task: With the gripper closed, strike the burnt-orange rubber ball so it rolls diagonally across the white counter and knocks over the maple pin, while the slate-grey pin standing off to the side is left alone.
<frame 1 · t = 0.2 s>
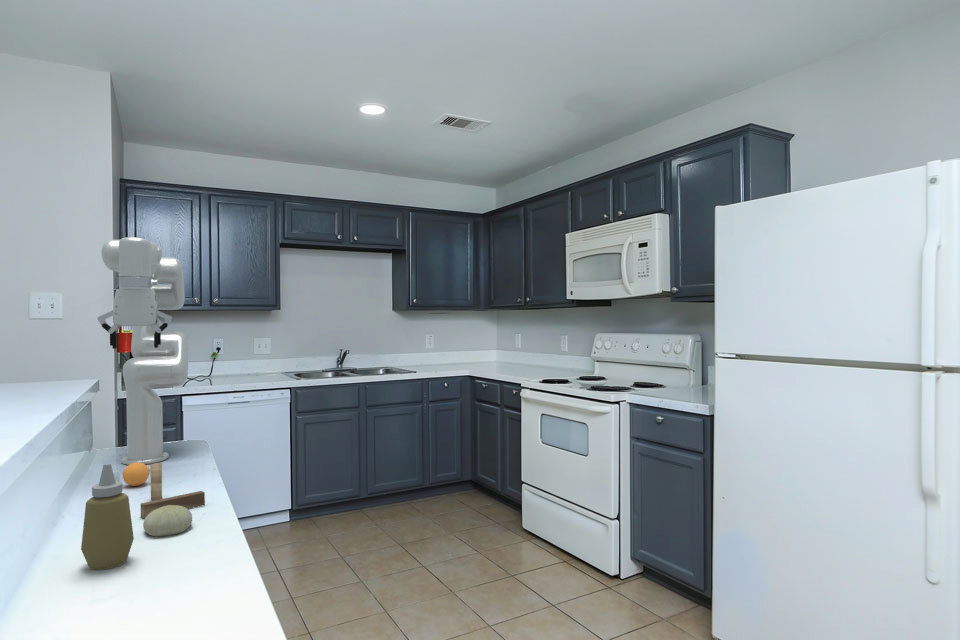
hand: (135, 348, 159), 36 cm above the worktop, tool pointing down, fingers open, 9 cm apart
squeeze bottle: (108, 565, 107), on the worktop
ball: (136, 474, 155), on the worktop
maple pin: (156, 499, 144), on the worktop
back wall: (173, 510, 135), on the worktop
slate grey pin: (113, 507, 137), on the worktop
sea urchin shell: (168, 531, 123), on the worktop
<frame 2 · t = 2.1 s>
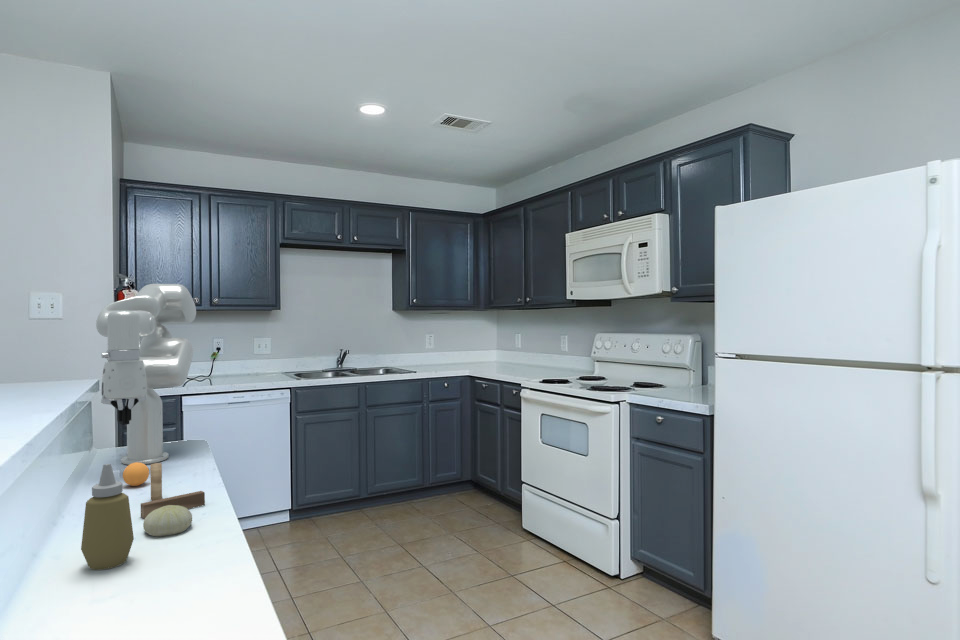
hand: (124, 423, 161), 15 cm above the worktop, tool pointing down, fingers closed
nothing on the worktop moved.
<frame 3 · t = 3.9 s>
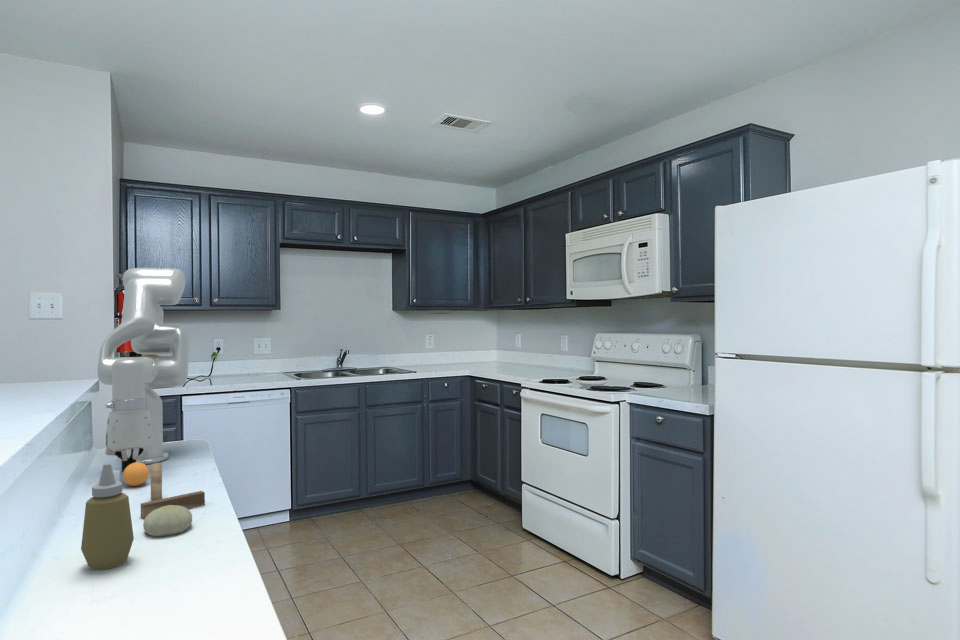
hand: (128, 474, 158), 2 cm above the worktop, tool pointing down, fingers closed
ball: (136, 474, 155), on the worktop, touching gripper
everything else where it was.
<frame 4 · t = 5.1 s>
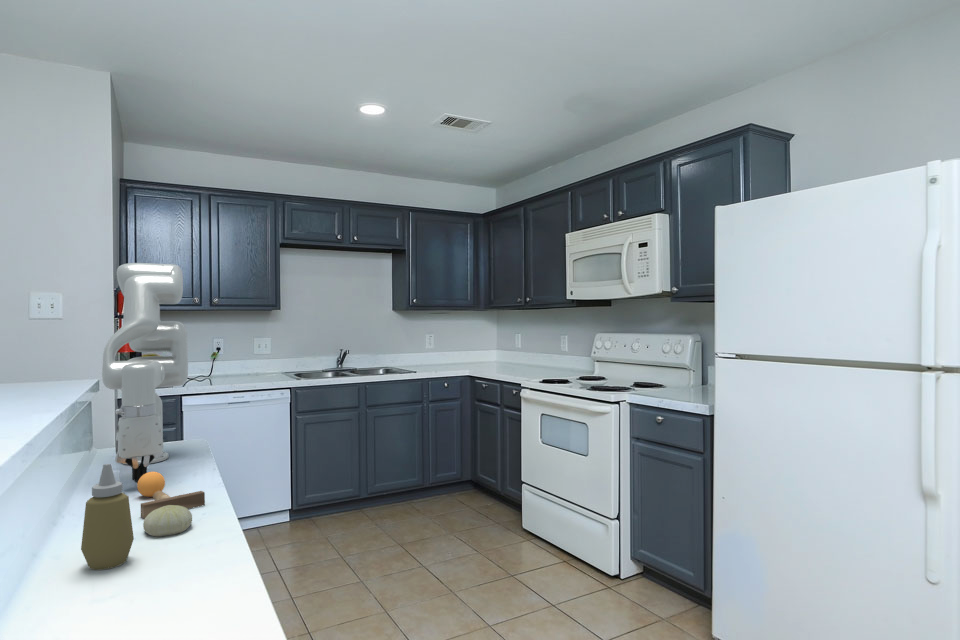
hand: (139, 482, 153), 2 cm above the worktop, tool pointing down, fingers closed
ball: (151, 484, 146), on the worktop
maple pin: (158, 495, 143), point 1 cm above the worktop, tilted 90°
everything else where it was.
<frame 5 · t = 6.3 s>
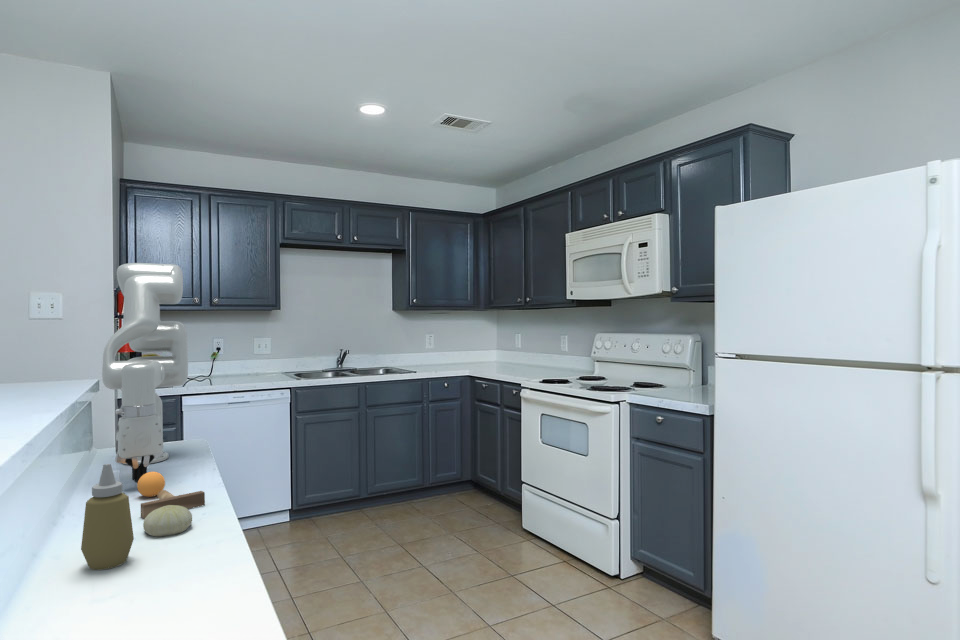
hand: (139, 482, 153), 2 cm above the worktop, tool pointing down, fingers closed
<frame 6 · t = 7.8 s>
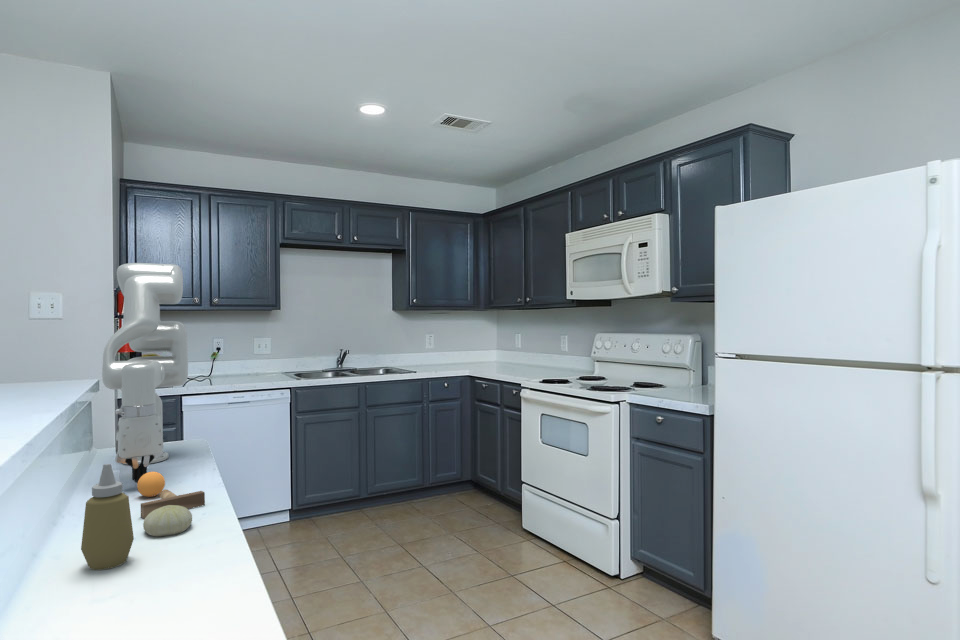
hand: (139, 482, 153), 2 cm above the worktop, tool pointing down, fingers closed
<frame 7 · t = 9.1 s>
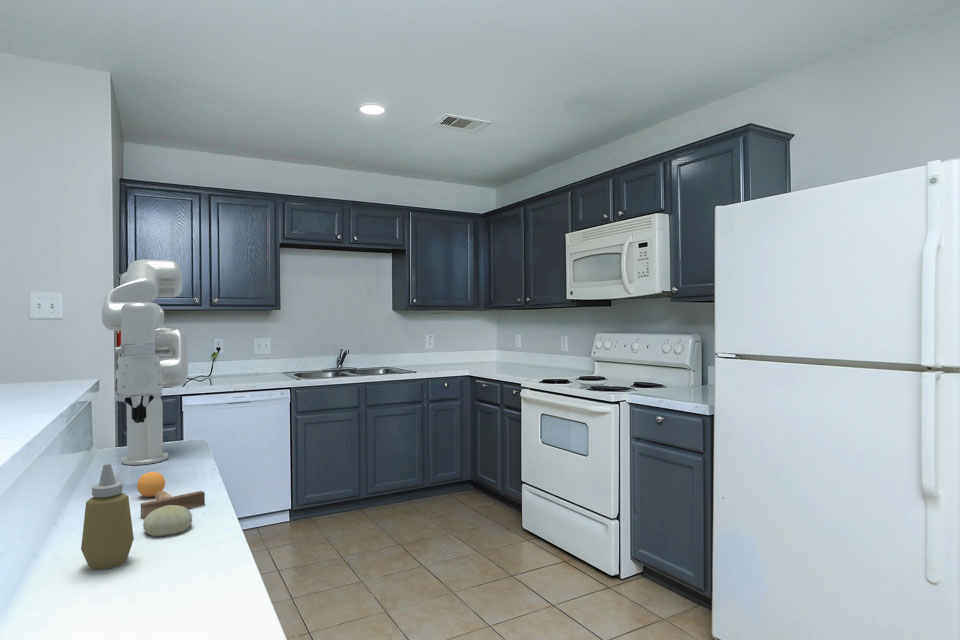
hand: (139, 421, 152), 17 cm above the worktop, tool pointing down, fingers closed
maple pin: (160, 495, 143), point 1 cm above the worktop, tilted 90°
everything else where it was.
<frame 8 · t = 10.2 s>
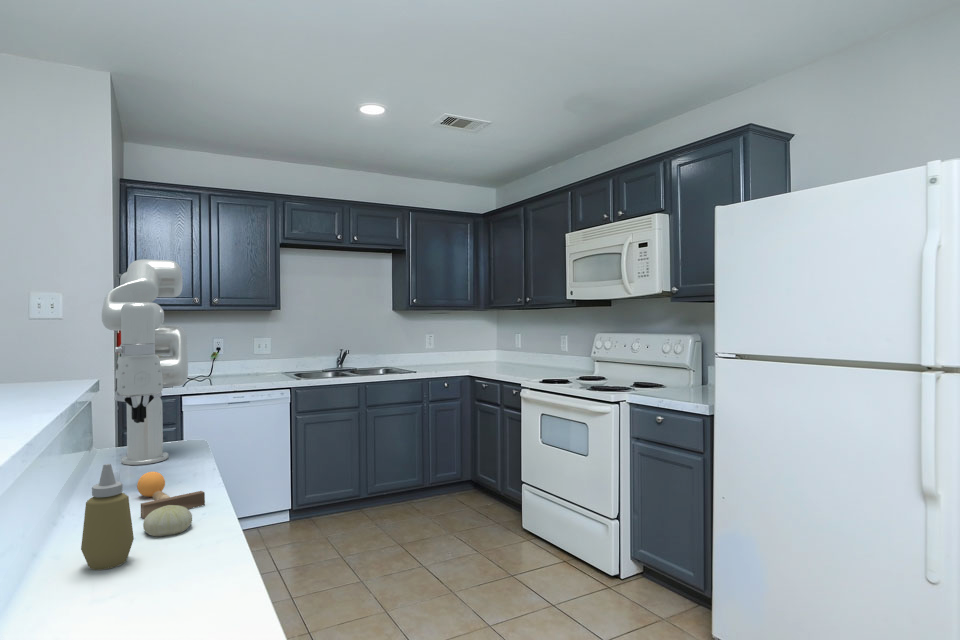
hand: (139, 421, 152), 17 cm above the worktop, tool pointing down, fingers closed
at the end: maple pin tilted 90°; maple pin never touched the robot; ball moved 12.7 cm from its start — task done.
